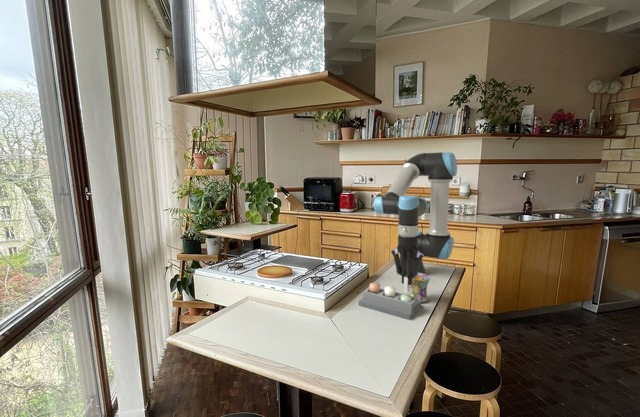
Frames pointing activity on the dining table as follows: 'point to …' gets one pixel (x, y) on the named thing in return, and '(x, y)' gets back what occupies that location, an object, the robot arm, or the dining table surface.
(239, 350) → the dining table surface
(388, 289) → the white egg
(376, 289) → the brown egg
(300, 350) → the dining table surface
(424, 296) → the mug
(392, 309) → the panel
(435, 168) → the robot arm
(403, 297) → the pale green rounded piece
